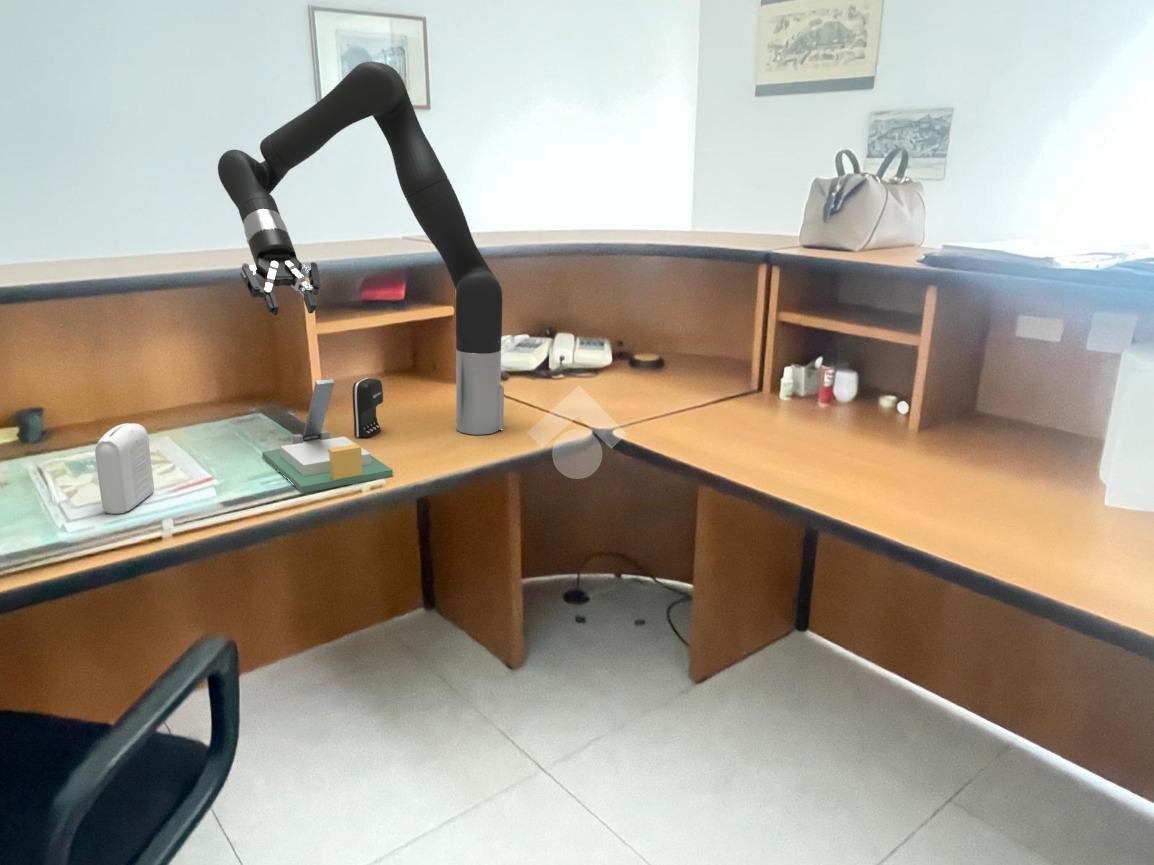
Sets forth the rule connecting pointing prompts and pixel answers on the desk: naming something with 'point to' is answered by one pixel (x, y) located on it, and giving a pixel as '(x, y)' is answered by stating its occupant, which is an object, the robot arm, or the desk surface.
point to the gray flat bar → (317, 409)
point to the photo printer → (124, 468)
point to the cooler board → (324, 477)
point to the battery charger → (366, 406)
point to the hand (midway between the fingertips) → (294, 311)
